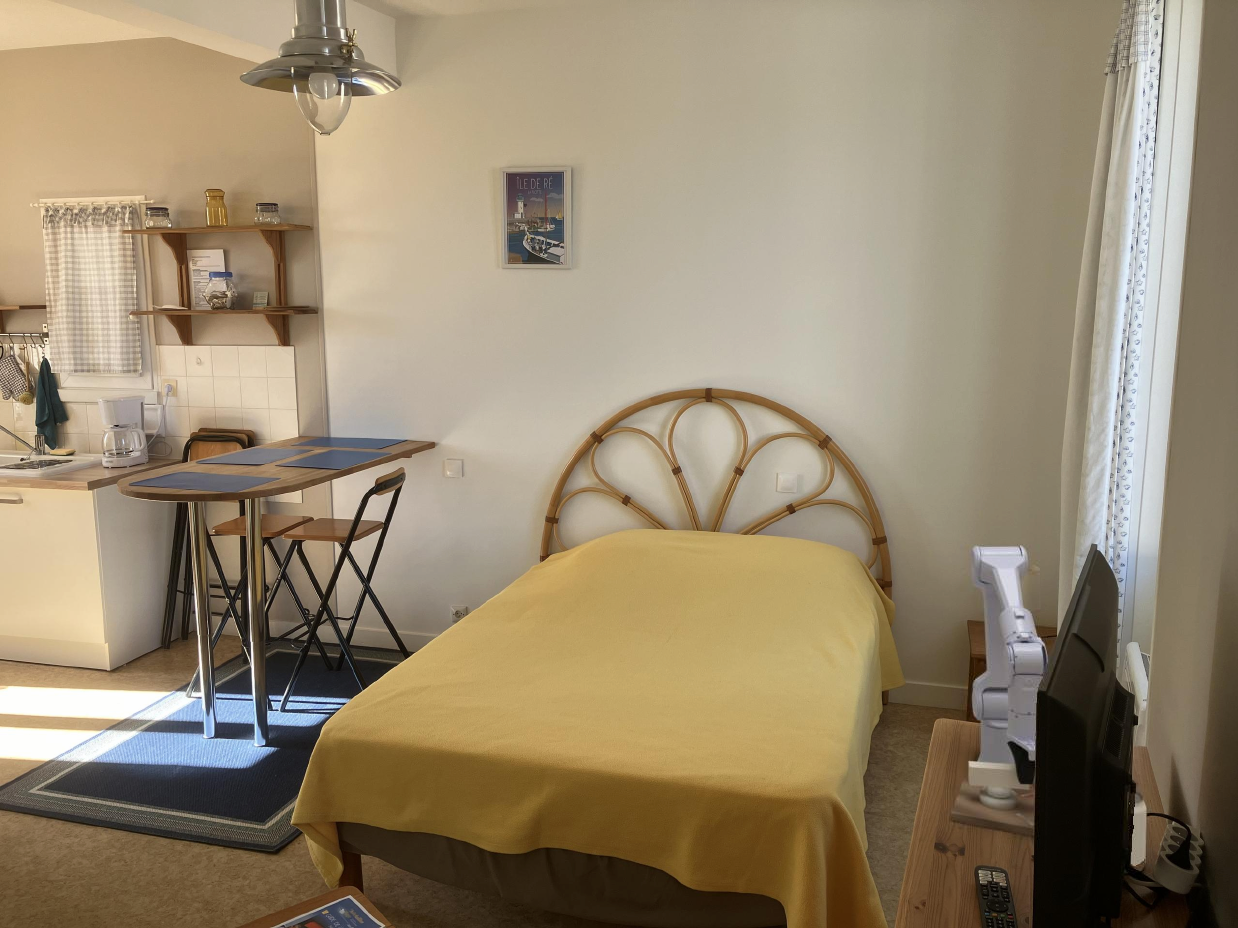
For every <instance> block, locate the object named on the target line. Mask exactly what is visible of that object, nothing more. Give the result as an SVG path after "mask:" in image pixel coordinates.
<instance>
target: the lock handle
mask: <svg viewBox="0 0 1238 928" xmlns="http://www.w3.org/2000/svg"><path fill="white" fill-rule="evenodd" d="M968 778H969V784H970V785H972V786H985V791H986V793H987V794H988V795H990V796H993V797H996V798H1007V797H1010V796H1011V795H1012V788H1014V789H1027V790H1029V788H1030V784H1020V783H1019V781H1018V777H1017V772H1016V766H1015V764H1004V763H989V762H977V761H971V760H968Z"/></svg>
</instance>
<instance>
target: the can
mask: <svg viewBox="0 0 1238 928" xmlns="http://www.w3.org/2000/svg"><path fill="white" fill-rule="evenodd" d="M1144 799H1145V797H1144V794H1142V793H1141V792H1140V791H1137V790H1136V794H1135V807H1134V816H1133V825H1134V829H1133V834H1132V852H1131V864H1132V865H1133V866H1136V865H1138V864H1140V863H1141V862H1142V861H1144V859H1145V860H1146V847H1147V845H1146V844H1147V806H1146V803H1145V801H1144ZM1129 804H1130V803H1129Z"/></svg>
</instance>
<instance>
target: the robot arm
mask: <svg viewBox="0 0 1238 928" xmlns="http://www.w3.org/2000/svg"><path fill="white" fill-rule="evenodd" d="M1028 570H1029V558H1028V553H1027V550H1026V548H1025V547H1024V546H1023V545H1018V546H978V545H974V546H973V548H972V549H971V550H970V578H971V579H970V580H971V582H972V586H973V587H976V588H977V589H980V591H981V593H982V598H983V613H984V614H983V616H984V617H983V618H984V638H985V641H984V642H985V658H986V659H985V660H986V671H984V672H983V673H981V675H979V676H978V677H977V678H975V680H973V683H972V693H971V703H972V705H971V706H972V712H973V716H974V718H976V720H977V721H980V753H979V756H978V758H977V761H976V762H989V763H1004V764H1015V766H1016V772H1017V777H1018V781H1019V783H1020V784H1029V785H1033V783H1034V780H1035V775H1036V769H1035V739H1036V736H1035V733H1036V703H1037V692H1038V687H1039V684H1040V682H1041V680H1042V678H1043V679H1044V676H1045V675H1044V672H1045V669H1046V666H1047V663H1048V664H1049V658H1048V653H1047V648H1046V645H1045V642H1044V641H1042V638H1041V637H1038V634H1037V629H1036V626H1035V622H1034V617H1033V614H1032V612H1031V611H1030V610H1028V609H1027V608H1025V607H1024V603H1023V602H1024V601H1023V594H1022V587H1021V586H1022V585H1021V584H1022V582H1024V581H1025V577H1026V576H1027V574H1028Z"/></svg>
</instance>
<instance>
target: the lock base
mask: <svg viewBox="0 0 1238 928" xmlns="http://www.w3.org/2000/svg"><path fill="white" fill-rule="evenodd" d="M1034 789H1035V788H1031V787H1029V790H1027V789H1014V788H1012V795H1011V796H1010V797H1007V798H996V797H993V796H990V795H988V794H987V793H986V791H985V786H972V785H970V784H969V777H967V776H964V777H963V780H962V782H961V785H960V788H959V791H958V793H957V796H956V799H955V801H954V805H953V807H952V809H951V813H950V821H951V820H952V821H951V822H954V821H955V823H960V824H966V825H970V826H976V827H980V828H981V827H982V828H985V829H992V830H997V831H1002V832H1006V833H1007V832H1008V833H1013V834H1017V835H1023V836H1028V837H1033V827H1034Z"/></svg>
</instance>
